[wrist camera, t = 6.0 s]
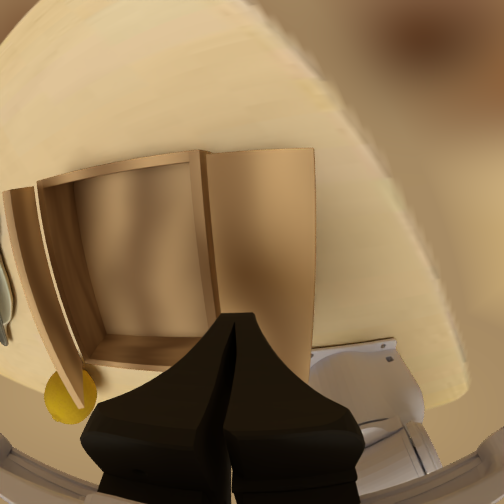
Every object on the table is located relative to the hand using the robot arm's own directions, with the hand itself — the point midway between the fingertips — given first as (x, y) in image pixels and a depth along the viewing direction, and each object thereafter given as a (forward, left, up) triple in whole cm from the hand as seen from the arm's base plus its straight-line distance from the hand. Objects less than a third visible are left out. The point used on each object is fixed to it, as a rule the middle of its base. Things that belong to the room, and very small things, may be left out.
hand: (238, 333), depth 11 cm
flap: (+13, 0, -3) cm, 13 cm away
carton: (+8, 0, -11) cm, 13 cm away
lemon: (+19, +13, -11) cm, 25 cm away
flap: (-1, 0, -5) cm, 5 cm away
